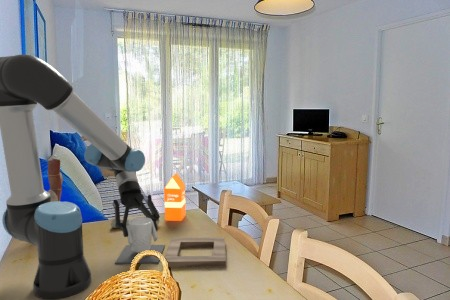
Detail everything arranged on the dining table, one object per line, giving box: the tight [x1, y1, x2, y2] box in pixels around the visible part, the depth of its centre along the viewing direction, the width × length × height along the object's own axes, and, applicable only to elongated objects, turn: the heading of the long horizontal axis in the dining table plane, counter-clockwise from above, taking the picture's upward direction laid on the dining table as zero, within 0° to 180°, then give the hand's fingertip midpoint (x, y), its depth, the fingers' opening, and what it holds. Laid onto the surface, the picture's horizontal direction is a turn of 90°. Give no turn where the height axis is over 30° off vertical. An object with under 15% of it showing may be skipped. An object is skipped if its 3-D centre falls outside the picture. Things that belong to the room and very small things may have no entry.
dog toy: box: [110, 216, 160, 229], centre depth 148 cm, size 20×6×5 cm, turn 88°
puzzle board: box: [164, 236, 227, 269], centre depth 121 cm, size 20×20×2 cm
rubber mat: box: [114, 244, 165, 265], centre depth 121 cm, size 14×14×1 cm
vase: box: [47, 158, 64, 202], centre depth 143 cm, size 10×7×30 cm
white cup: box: [128, 216, 153, 253], centre depth 120 cm, size 8×8×10 cm
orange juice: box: [163, 172, 187, 222], centre depth 159 cm, size 8×9×20 cm
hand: (143, 242), depth 117 cm, fingers closed on white cup, 8 cm apart
